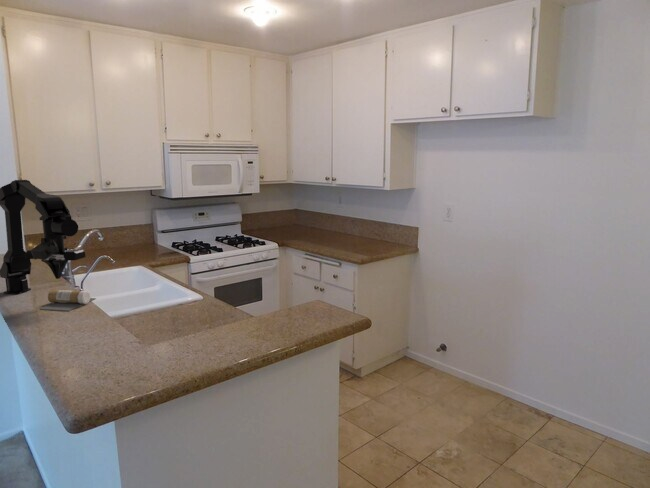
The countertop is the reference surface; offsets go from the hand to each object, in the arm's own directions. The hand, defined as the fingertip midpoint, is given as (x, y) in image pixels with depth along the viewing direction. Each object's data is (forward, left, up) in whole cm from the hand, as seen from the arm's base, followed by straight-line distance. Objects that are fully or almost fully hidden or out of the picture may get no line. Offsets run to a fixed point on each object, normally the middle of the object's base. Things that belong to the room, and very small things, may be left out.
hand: (58, 278), depth 160 cm
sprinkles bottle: (-4, +1, -7) cm, 8 cm away
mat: (+3, 0, -9) cm, 10 cm away
